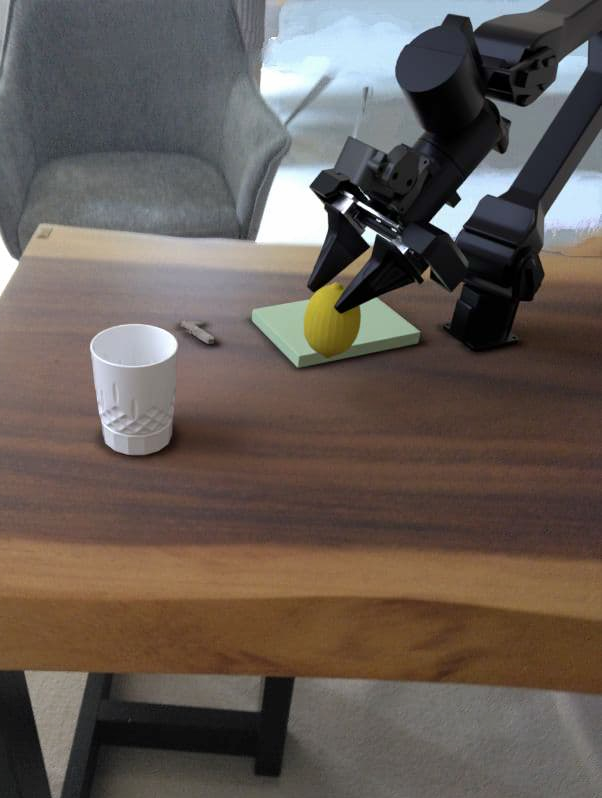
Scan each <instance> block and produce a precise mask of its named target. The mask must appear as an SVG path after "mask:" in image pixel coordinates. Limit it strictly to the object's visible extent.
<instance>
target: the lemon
mask: <svg viewBox="0 0 602 798" xmlns="http://www.w3.org/2000/svg"><path fill="white" fill-rule="evenodd" d="M347 287H348V286H346V285H343V284H341V282H338V281H336V282H333V283H332V284H331V283H330V284H326V285H325V286H323V287H322V288H320V289H319V290H318V291H316V292H314V293H313V295H312V296H311V297H310V301H309V303H308V305H307V308H306V311H305V315H304V335H305V338H306V340H307V342H308V344H309V346H310V347H311V348H312V349H313V350H314V351H315V352H317V353H319V354H321V355H323V356H324V357H325V358H331V357H332V356H335V355H339V354H342V353H343V352H345V351H346V350H348V349H349V348H350V347H351V346H352V344H353V343H354V341H355V340H356V338H357V335H358V333H359V329H360V321H361V311H360V305H359V306H357V307H355V308H353V309H351V310H349V311H346V312H344V313H342V314H340V313H338V312H337V311H336V310H335V309H334V305H335V304H336V302H337V301H338V299H339V298H340V296H341V295H342V293H343V292H344V290H345V289H346V288H347Z"/></svg>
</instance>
